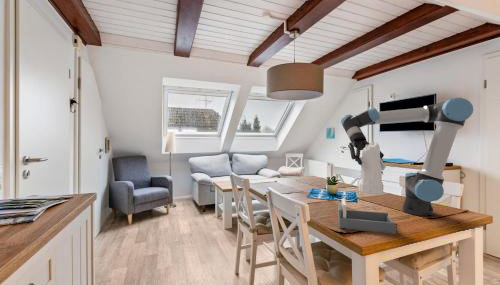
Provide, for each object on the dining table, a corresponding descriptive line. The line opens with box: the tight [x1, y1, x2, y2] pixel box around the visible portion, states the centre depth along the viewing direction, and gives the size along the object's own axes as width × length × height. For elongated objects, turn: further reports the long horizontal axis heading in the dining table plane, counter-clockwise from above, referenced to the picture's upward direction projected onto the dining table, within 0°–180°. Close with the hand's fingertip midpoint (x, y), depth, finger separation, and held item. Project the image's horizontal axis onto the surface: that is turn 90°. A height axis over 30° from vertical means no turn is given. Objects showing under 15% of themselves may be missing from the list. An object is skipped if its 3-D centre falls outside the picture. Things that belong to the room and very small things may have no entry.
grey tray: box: [337, 201, 397, 235], centre depth 117 cm, size 24×16×9 cm, turn 71°
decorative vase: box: [358, 141, 384, 195], centre depth 117 cm, size 11×11×25 cm
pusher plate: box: [341, 198, 347, 218], centre depth 120 cm, size 2×13×10 cm, turn 161°
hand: (374, 168), depth 113 cm, fingers closed on decorative vase, 9 cm apart
